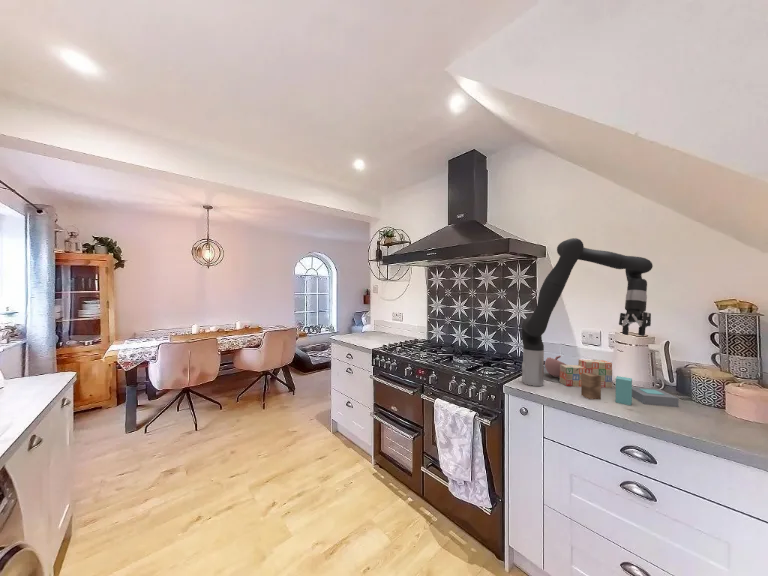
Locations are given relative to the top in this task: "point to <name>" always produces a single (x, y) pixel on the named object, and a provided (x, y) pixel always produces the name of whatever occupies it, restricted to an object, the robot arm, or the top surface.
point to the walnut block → (591, 385)
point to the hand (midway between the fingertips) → (633, 335)
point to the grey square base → (654, 397)
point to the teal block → (624, 390)
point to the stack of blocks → (572, 373)
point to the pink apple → (553, 366)
